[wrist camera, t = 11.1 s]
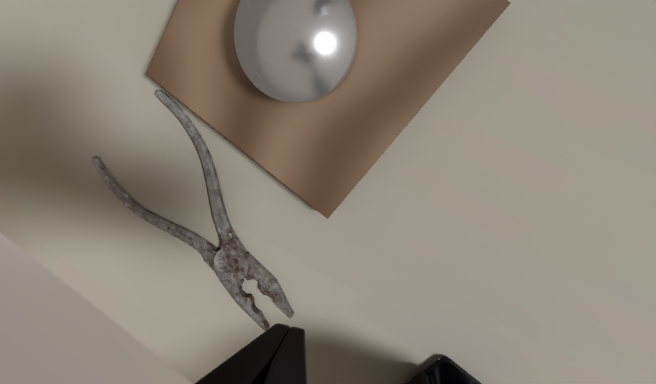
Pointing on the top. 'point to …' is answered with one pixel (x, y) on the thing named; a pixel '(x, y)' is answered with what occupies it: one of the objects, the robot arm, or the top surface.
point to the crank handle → (296, 46)
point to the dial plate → (333, 110)
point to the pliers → (233, 255)
